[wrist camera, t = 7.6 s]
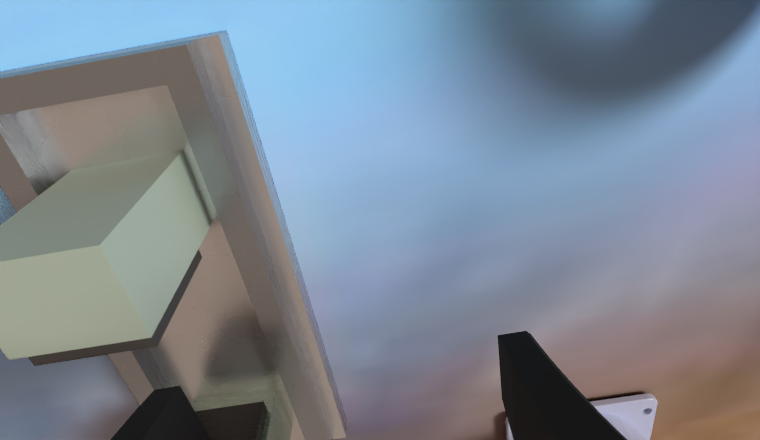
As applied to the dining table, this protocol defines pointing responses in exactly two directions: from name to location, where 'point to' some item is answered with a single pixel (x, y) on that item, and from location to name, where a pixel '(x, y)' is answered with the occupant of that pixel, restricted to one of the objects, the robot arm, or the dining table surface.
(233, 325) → the tray
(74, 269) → the pale green cuboid
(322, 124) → the dining table surface
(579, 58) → the dining table surface
